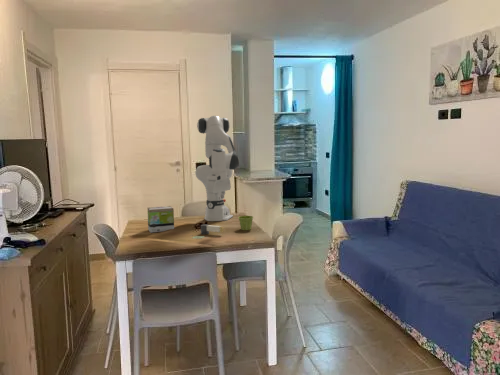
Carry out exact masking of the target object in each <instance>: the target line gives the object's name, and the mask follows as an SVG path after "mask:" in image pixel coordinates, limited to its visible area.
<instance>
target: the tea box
mask: <svg viewBox="0 0 500 375" xmlns="http://www.w3.org/2000/svg"><path fill="white" fill-rule="evenodd" d="M174 210H175V209H174V208H173V206H171V205H168V206H166V205H165V206H153V207H152V206H151V207H147V230H148V231H149V233H160V232H165V231H168V230H174V229H175V218H174V216H175V214H174V212H175V211H174Z"/></svg>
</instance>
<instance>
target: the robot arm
mask: <svg viewBox="0 0 500 375" xmlns="http://www.w3.org/2000/svg"><path fill="white" fill-rule="evenodd" d="M230 123H231V122H230V121H229V119H228V117H227V118H226V117H220V116H218V115H211V116H210V117H205V118H204V117H201V118H199V119H198V120H197V124H196V126H197V127H196V128H197V130H198V132H199V133H200V134H204V135H205V142H204V145H205V146H204V147H205V148H204V149H205V150H204V151H205V157H206V158H207V159H208V161H209V163H208V164H203V165H198V166H197V167H196V169H195V172H194V173H195V177H196V178H197V179H198V180H199V181H200V182H201V183H202V184H203V186H204V187H205V191H206V207H205V212H204V213H205V215H204V217H203V218H204V220H205V221H206V222H207V221H208V222H221V221H228V220H230V219H232V218H233V217H234V215H233V214H231V212H230V208H229V207H228V206H226V204H225V203H226V202H227V201H226V200H227V199H225V194H226V191H230V190H231V187H232V186H231V178H232V175H233V171H235V170H236V169H237V168H238V167H239V166H240V158H239V155H238V153H237V151H236V149H235V146H234V144H233V140H232V138H231V136H230V135H229V134H228V132H229V130H230V127H231V124H230ZM222 146H223V147H225V148H226V150H227V153H226V150H225V149H224V148H222Z"/></svg>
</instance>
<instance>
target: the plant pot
mask: <svg viewBox="0 0 500 375" xmlns="http://www.w3.org/2000/svg"><path fill="white" fill-rule="evenodd" d="M237 218H238V221H239V225H240V226H239V227H240V230H241V231H242V230H243V231H250V230H252V224H253V219H254V216H253V215H240V216H238V217H237Z"/></svg>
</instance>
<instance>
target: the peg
mask: <svg viewBox="0 0 500 375" xmlns="http://www.w3.org/2000/svg"><path fill="white" fill-rule="evenodd" d="M210 232H214V233H216V232H217V233H223V232H224V226H221V225H210V224H201V225H200V234H201V235H209V234H210Z"/></svg>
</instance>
